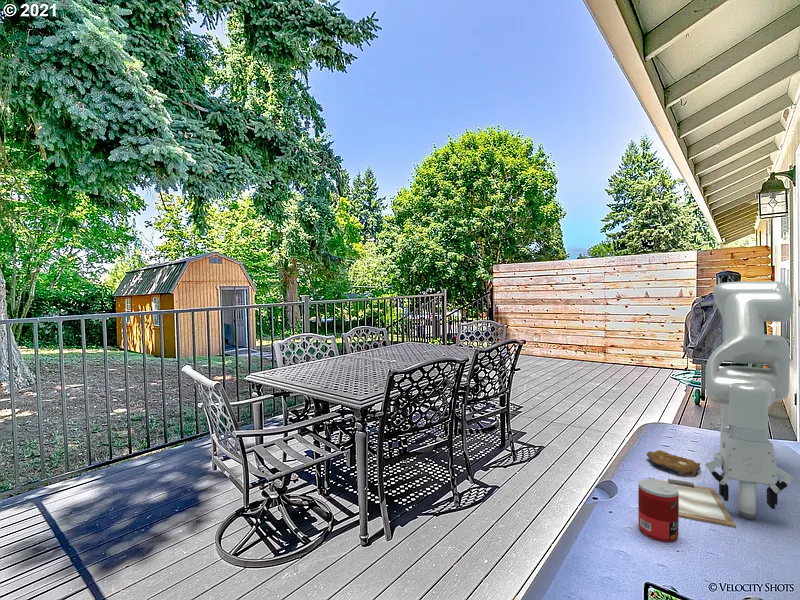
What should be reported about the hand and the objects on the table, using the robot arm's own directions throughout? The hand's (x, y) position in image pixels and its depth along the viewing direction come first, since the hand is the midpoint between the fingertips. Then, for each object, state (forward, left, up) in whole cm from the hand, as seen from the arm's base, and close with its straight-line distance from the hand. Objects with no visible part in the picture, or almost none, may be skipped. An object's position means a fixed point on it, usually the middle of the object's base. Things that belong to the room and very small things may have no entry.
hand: (747, 502), depth 103 cm
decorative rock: (-27, -12, -4) cm, 30 cm away
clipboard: (-3, -12, -4) cm, 13 cm away
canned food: (+17, -21, -4) cm, 27 cm away
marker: (0, 0, -4) cm, 4 cm away
